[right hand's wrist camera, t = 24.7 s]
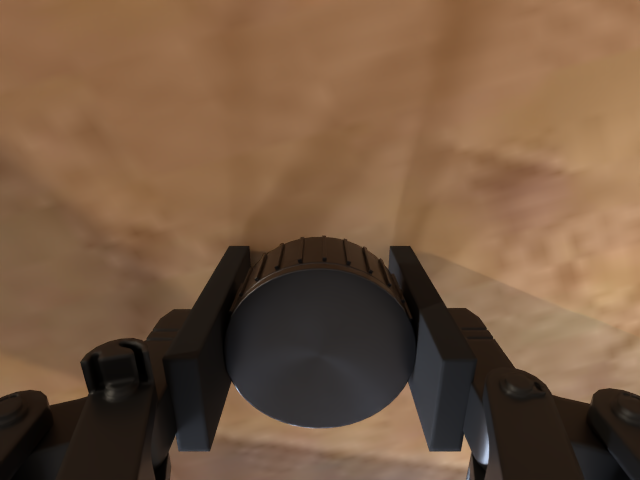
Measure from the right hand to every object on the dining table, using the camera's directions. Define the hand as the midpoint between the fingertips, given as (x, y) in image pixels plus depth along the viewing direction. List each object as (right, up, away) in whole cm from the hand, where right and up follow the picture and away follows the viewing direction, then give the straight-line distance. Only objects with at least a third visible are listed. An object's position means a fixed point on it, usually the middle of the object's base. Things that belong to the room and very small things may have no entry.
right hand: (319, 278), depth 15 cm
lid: (0, -2, -4) cm, 4 cm away
